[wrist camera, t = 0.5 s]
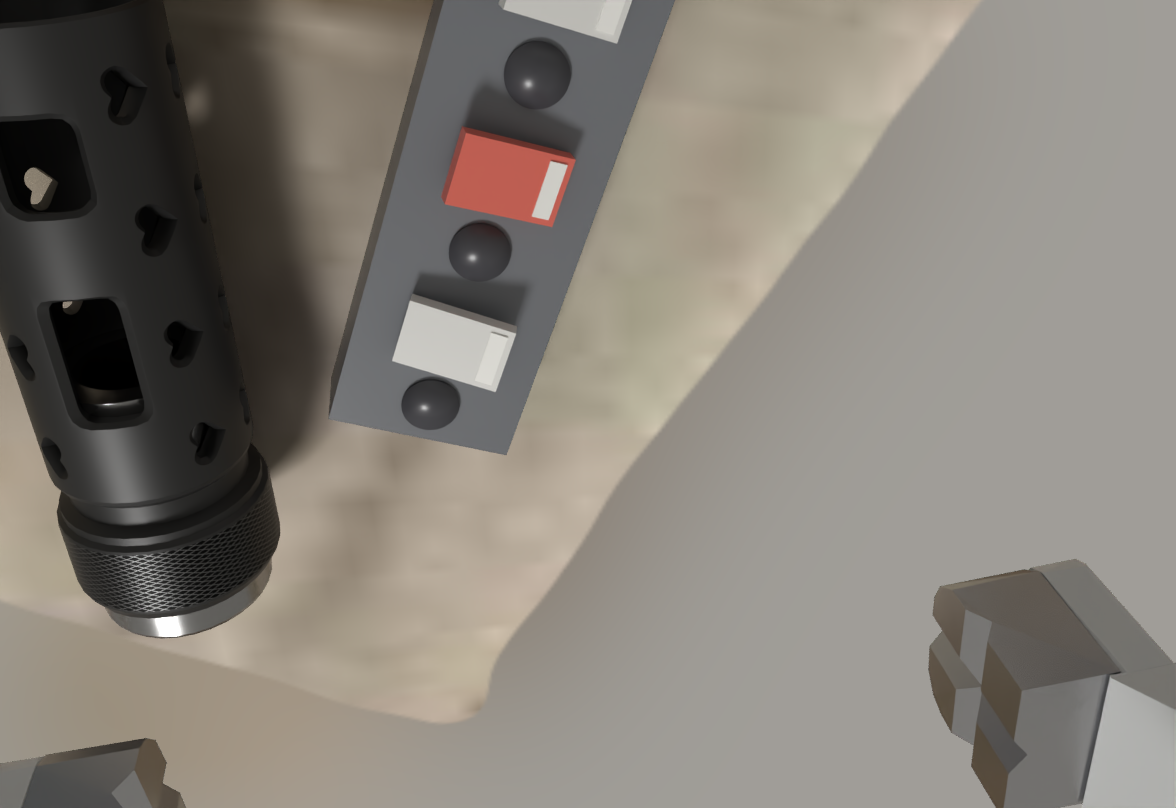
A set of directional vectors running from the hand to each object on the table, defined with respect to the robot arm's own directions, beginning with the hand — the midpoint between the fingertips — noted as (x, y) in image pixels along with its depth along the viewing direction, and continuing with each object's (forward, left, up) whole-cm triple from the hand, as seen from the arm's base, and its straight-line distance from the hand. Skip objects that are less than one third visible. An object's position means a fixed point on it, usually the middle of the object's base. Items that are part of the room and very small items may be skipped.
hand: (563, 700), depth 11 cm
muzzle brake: (+18, -9, -42) cm, 47 cm away
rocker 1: (+15, +5, -37) cm, 40 cm away
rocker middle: (+6, +5, -37) cm, 38 cm away
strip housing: (+8, +5, -42) cm, 43 cm away
